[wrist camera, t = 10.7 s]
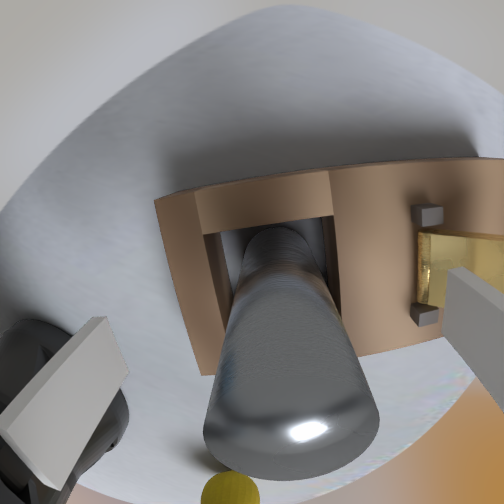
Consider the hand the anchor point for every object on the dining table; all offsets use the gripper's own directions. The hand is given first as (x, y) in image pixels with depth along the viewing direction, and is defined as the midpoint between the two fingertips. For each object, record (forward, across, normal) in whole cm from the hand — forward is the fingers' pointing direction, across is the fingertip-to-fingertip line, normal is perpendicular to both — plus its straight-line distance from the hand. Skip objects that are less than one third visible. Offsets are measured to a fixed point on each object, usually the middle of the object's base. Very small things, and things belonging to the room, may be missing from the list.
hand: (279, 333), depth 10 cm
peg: (+8, 0, 0) cm, 8 cm away
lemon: (+8, -7, -22) cm, 25 cm away
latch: (+2, +10, 0) cm, 10 cm away
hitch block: (+8, +5, 0) cm, 10 cm away
